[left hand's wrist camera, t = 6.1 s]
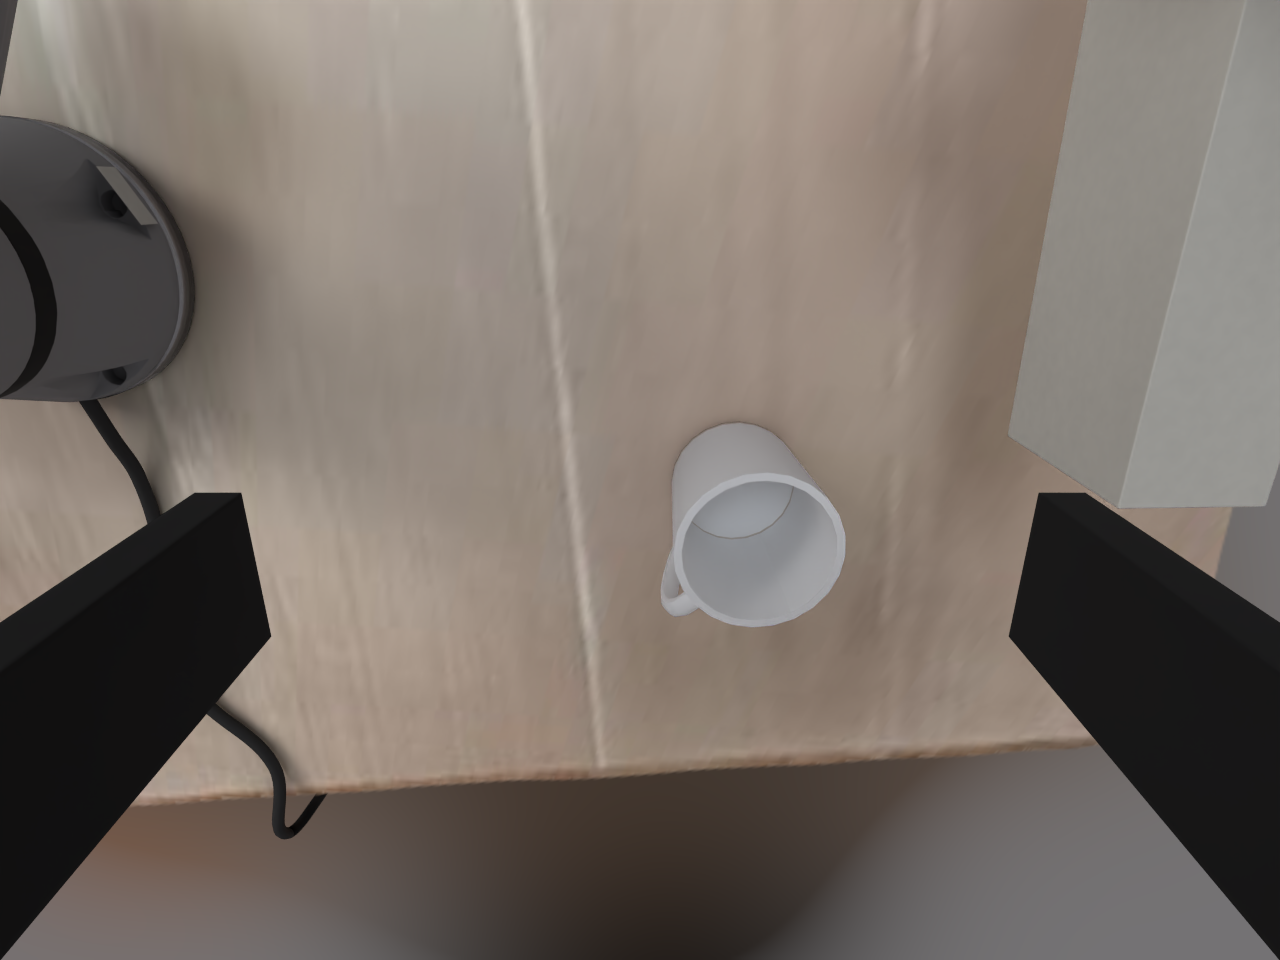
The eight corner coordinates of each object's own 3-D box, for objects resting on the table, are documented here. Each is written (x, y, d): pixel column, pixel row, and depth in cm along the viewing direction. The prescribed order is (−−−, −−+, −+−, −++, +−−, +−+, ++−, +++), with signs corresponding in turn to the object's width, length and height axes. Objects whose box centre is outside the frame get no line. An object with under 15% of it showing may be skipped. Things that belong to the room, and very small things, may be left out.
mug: (741, 384, 45) (771, 436, 36) (830, 482, 48) (880, 555, 38) (612, 498, 48) (608, 574, 39) (703, 585, 51) (720, 678, 41)
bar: (1121, 434, 33) (1266, 507, 25) (1006, 436, 33) (1117, 509, 25) (1313, -352, 23) (1635, -605, 16) (1151, -352, 23) (1398, -605, 16)
